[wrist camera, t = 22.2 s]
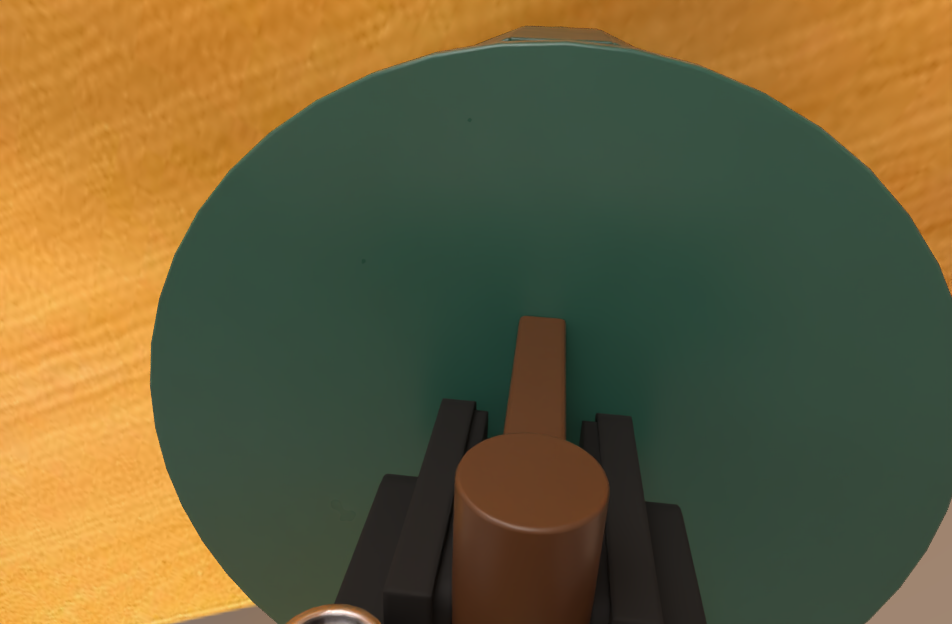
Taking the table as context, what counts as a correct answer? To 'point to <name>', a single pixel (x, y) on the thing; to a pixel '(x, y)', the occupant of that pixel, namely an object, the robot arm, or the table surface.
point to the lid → (560, 337)
